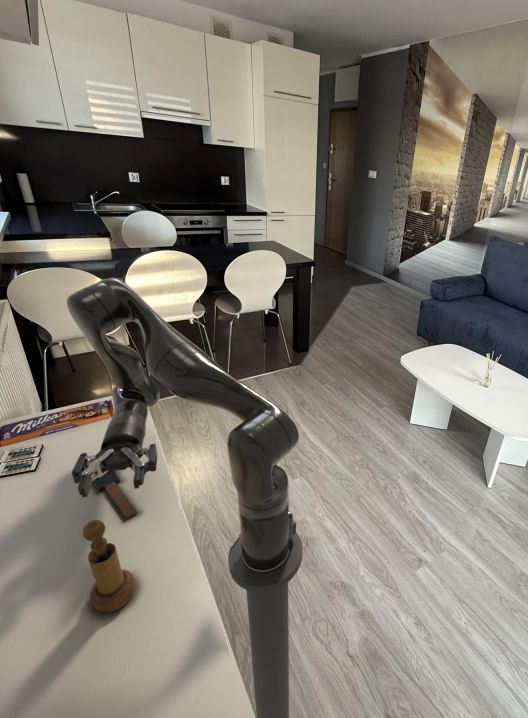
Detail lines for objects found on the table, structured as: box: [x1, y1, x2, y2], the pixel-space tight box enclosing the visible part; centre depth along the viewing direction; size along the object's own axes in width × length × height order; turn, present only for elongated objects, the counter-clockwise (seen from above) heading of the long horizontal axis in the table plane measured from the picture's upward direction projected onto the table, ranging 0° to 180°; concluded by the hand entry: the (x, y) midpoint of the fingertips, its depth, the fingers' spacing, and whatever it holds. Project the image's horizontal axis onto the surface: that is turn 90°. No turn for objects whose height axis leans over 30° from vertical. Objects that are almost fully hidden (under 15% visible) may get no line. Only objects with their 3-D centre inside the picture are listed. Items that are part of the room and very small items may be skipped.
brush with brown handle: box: [90, 466, 138, 520], centre depth 90 cm, size 19×4×1 cm, turn 49°
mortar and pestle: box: [82, 519, 136, 613], centre depth 67 cm, size 7×6×18 cm
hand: (110, 489), depth 74 cm, fingers open, 8 cm apart
